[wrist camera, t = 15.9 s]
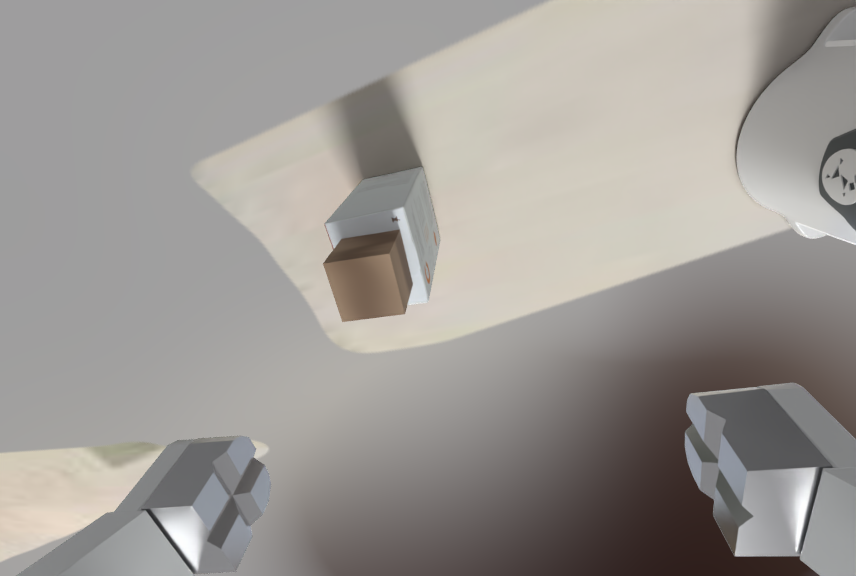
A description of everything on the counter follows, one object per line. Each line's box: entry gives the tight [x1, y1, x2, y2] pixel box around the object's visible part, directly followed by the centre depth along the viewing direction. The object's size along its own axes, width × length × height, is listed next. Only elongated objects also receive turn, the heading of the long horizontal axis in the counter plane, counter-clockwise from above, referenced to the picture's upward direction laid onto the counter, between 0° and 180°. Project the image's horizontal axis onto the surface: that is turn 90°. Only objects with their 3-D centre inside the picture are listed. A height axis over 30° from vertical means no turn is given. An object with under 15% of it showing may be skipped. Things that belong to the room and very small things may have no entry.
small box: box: [325, 167, 440, 305], centre depth 39 cm, size 8×6×13 cm
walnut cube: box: [323, 230, 413, 322], centre depth 31 cm, size 4×4×4 cm
